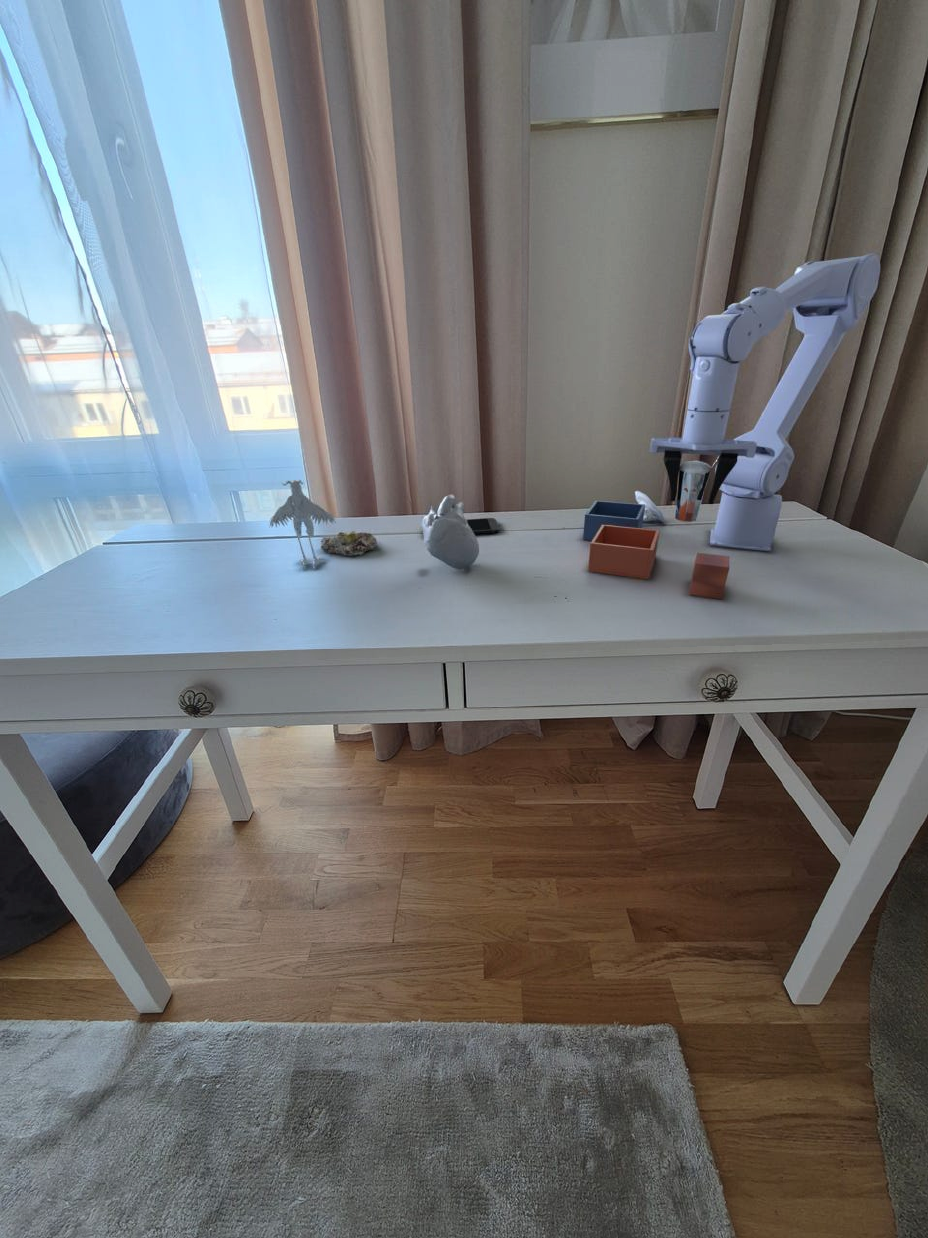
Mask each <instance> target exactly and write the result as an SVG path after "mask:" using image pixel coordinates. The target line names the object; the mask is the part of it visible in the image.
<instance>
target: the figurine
mask: <svg viewBox="0 0 928 1238" xmlns="http://www.w3.org/2000/svg"><path fill="white" fill-rule="evenodd" d="M288 484H289V488H290V493H291V495H289V496H288V497H287V498H286V500H285V502H284V503H283V504H282V505H281V506H279V507H278V508H277V509H276V511H275V513H274V514H273V515H272V516H271V517H270V520H269V527H270V528H271V529H272V528H273V527H274V525H275V528H276V529H277V528H278V527H280V526H281V525H282V526H283V527H286V526H288V523H289V522H290V521H292V525H293V529H294V532H295V535H296V537H297V541H298V543H299V547H300V551H301V555H302V558H301V559H300V560H299V562H300V563H302V570H303V571H304V570H305V567H306V566H307V564H308V563H309V558H307V557H306V555H305V552H304V549H303V546H302V541H301V538H302V533H303V532H302V526H303V524H304V526H305V528H306V529H305V532H306V534H307V537H308V541H309V546H310V549H311V553H312V559H313V560H312V563H313V564H312V566H313V569H314V570H315V569H316V565H317V563H319V562H322V561H325V558H323V557H317V556H316V553H315V550H314V547H313V544H312V540H311V538H313V537H314V535H315V524H316V523H317V524H318V525H319V526H320V524H321V521H322V524H324V523H326V525H328V522H329V523H330V524H334V523H335V524H337V522H336V521H335V520H336V519H335V517H334V515H333V514H332V513H331V512H329V511H327V510H325V509H324V508H323V507H321V506H320V505H319V504H316V503H314V502H313V501H312V500H311V499H310V498H309V497H308V496H306V495H305V494H304V492H303V489H302V485H304V482H303V481H302V480H301V479H298V480H297V479H294V480H286V481H285V483H283V482H281V485H283V486H287V485H288ZM289 520H290V521H289ZM287 522H288V523H287ZM285 525H286V526H285Z"/></svg>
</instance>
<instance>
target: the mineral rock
mask: <svg viewBox="0 0 928 1238" xmlns="http://www.w3.org/2000/svg"><path fill="white" fill-rule="evenodd" d="M377 543H378V541H377V538H376V537H375V535H373V534H372V533H370V532H362V531H361V532H356V531H355V530H352V531H349V532H344V531H343V532H342V531H340V532H338V534H337V535H334V536H330V537H325V536H324V537H322V538H321V540H320V544H321V546H320V549H322V550H323V551H325V553H327V554H332V555H344V556H346V557H350V556H353V557H355V556H362V555H363V554H365V553H366V552H368V551H370V550H373V549H374V547H376V546H377Z"/></svg>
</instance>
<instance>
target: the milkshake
mask: <svg viewBox="0 0 928 1238" xmlns="http://www.w3.org/2000/svg"><path fill="white" fill-rule="evenodd" d="M718 458H719V455H717V457H716V459H715V460H714V462H713V463H712V465H710V464H709V463H706V462H704V461H701V460H687V461H684V462H682V463H681V464H680V468H679V475H678V485H677V494H676V505H675V516H674V518H675V520H677V521H681V522H685V523H687V522H690V523H692V522H696V520H697V519H698V516H699V512H700V508H701V504H702V501H703V497H704V494H705V491H706V488H707V486H708V482H709V479H710V476H711V472H712V469H713V468H714V466H715V465H716V462H718Z"/></svg>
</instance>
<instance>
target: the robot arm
mask: <svg viewBox="0 0 928 1238" xmlns="http://www.w3.org/2000/svg"><path fill="white" fill-rule="evenodd" d="M879 259H880V258H879V257H878V255H877V253H868V254H864V255H860V256H852V257H845V258H837V259H831V260H830V259H829V260H828V259H827V260H821V261H814V260H811V261H807V262H805V263H804V264H803V265H800V266H798V267H796V270H795V272H794V274H793V275H792V276H791V277H790V278H788V279H787V280H785V281H784V282H783V283H782V284H780V285H779V286H777V287H776V288H775V289H774V288H771V287H767V286H760V287H759V286H758V287H754V288H753V289H751V291H750V294H749V296H747V297H746V298H744V299H743V300H741V301H739V302H734V303H732V304H729V305H728V307H727V310H725V311H723V312H722V313H721V314H711V315H710V314H709V315H707V316H705V317H704V318H703V319H702V320H701V321H700V322H698V323H697V324H696V326H695V327H694V329H693V332H692V334H691V337H690V338H689V339H688V352H689V356H690V368H689V371H690V374H691V375H692V379H691V385H690V391H689V398H688V402H687V403H688V404H687V409H686V416H685V422H684V428H683V432H682V437H652V438H651V441H650V447H649V453H650V454H657V453H664V455H663V457H662V458H663V463H664V466H665V470H666V473H667V476H668V481H669V482H668V483H669V490H670V499H669V502H676V500H677V495H678V483H679V468H680V466H681V465H682V463H681V462H682V458H683V454H685V455H686V454H687V455H710V456H719V458H718V459H717V461H716V462H717V463H716V464H715V465H716V466H715V470H714V477H713V481H712V485H711V488H710V492H709V496H708V500H707V504H708V505H714V502H715V500H716V496H717V494H718V492H719V491H722V492H721V497H720V500H719V501H720V502H719V506H718V511H717V516H716V521H715V525H714V528H711V530H710V535H709V536H710V537H709V545H710V546H713V547H714V546H715V547H722V548H732V549H743V550H751V551H752V550H753V551H762V552H770V551H771V550H772V549H771V548H772V547H771V546H772V545H773V541H774V537H775V534H776V529H777V526H778V522H779V519H780V515H781V509H782V506H783V505H782V503H783V496H782V495H781V494H776V493H777V492H778V491H780V490H781V488H782V487H783V486H784V484H785V483H786V481H787V478H788V476H789V472H790V471H789V470H790V468H791V466H792V463H793V461H794V460H795V453H794V450H793V448H792V446H791V445H790V444H789V442H788V441H787V438H788V436H789V434H790V433H791V431H792V430H793V427H794V425H795V424H796V422H797V420H798V418H800V415H801V413H802V411H803V410H804V408H805V406H806V404H807V403H808V400H809V399H810V397H811V395H812V394H813V392H814V391H815V388H816V386H817V385H818V383H819V381H820V379H821V378H822V376H823V374H824V372H825V371H826V369H827V367H828V365H829V364H830V362H831V359H832V358H833V357H834V355H835V353H836V351H837V349H838V347H839V346H840V344H841V342H842V340H843V338H844V337H845V335H846V333H847V332H848V331H850V330H851V329H853V328H855V327H856V326H857V325H858V323H859V321H860V319H861V318H862V316H863V314H864V313H865V311H866V309H867V307H868V305H870V302H871V301H872V298H874V295H875V294H876V291H877V290H878V289H877V288H878V285H879V279H880V274H881V261H880V260H879ZM790 311H792V312H793V313H792V314H793V318H794V319H793V320H794V325H795V329H796V330H797V331H799V332H801V333H802V334H803V339H802V340H801V342H800V344H799V346H798V348H797V350H796V352H795V353H794V355H793V357H792V359H791V360H790V362H789V364H788V366H787V367H786V369H785V372H784V373H783V375H782V377H781V379H780V380H779V382H778V384H777V386H776V388H775V389H774V391H773V393H772V395H771V397H770V399H769V401H768V402H767V404H766V406H765V408H764V410H763V411H762V413H761V416H760V417H759V419H758V420H757V422H756V424H755V426H754V428H753V429H751V430H750V431H747V432H746V433H744V434H741V435H739V436H737V437H736V438H734V439H728V438H725V436H726V430H727V427H728V421H729V417H730V413H731V408H732V402H733V398H734V392H735V388H736V383H737V378H738V373H739V369H740V364H741V361H744V360H746V358H747V357H748V356H749V354H750V353H751V351H752V349H753V347H754V345H755V344H756V343H757V342H758V340H760V339H762V338H763V337H764V336H766V335H768V334H769V333H771V332H772V331H774V330H776V329H777V328H778V327H779V326H780V325H781V324H782V322H783V320H784V318H785V315H786V314H787V313H788V312H790Z"/></svg>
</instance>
